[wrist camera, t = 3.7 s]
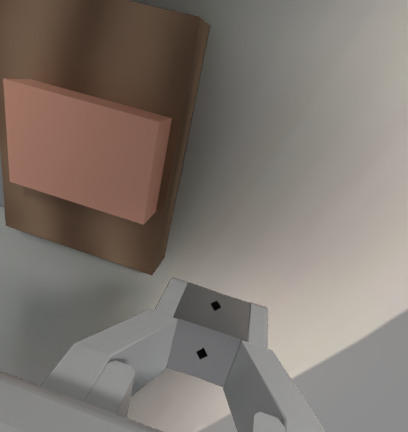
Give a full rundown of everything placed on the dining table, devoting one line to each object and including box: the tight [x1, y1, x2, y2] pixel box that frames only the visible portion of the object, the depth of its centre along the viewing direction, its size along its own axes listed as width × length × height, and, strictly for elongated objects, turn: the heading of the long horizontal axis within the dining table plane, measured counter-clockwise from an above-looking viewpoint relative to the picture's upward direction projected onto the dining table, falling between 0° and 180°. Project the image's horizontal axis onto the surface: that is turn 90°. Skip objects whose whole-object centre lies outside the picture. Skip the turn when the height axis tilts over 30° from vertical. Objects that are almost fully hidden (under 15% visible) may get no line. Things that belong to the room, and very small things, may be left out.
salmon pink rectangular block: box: [3, 79, 172, 225], centre depth 18 cm, size 9×6×2 cm, turn 77°
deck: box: [0, 0, 210, 275], centre depth 20 cm, size 12×16×2 cm
